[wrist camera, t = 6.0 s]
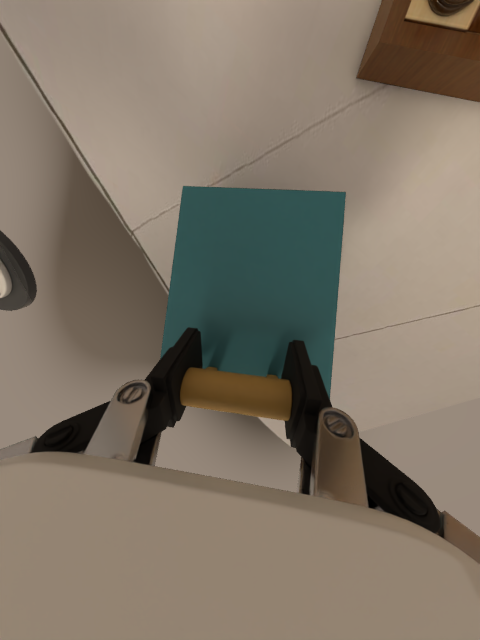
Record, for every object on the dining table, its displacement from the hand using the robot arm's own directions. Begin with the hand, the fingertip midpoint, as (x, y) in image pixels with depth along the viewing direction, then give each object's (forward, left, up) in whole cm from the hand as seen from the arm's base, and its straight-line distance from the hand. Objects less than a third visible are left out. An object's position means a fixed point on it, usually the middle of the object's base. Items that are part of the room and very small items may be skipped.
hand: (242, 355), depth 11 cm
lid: (0, +2, -4) cm, 5 cm away
